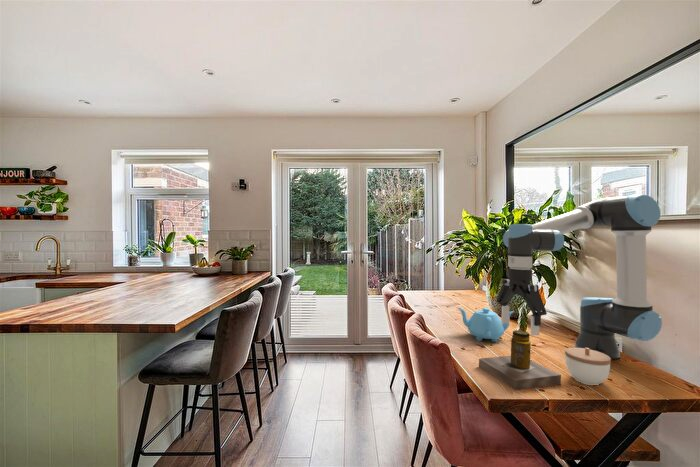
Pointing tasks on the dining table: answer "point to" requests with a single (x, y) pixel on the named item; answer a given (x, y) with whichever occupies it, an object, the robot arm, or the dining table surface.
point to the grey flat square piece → (519, 373)
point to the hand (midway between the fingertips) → (519, 328)
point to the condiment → (520, 352)
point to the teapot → (485, 324)
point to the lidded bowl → (587, 365)
